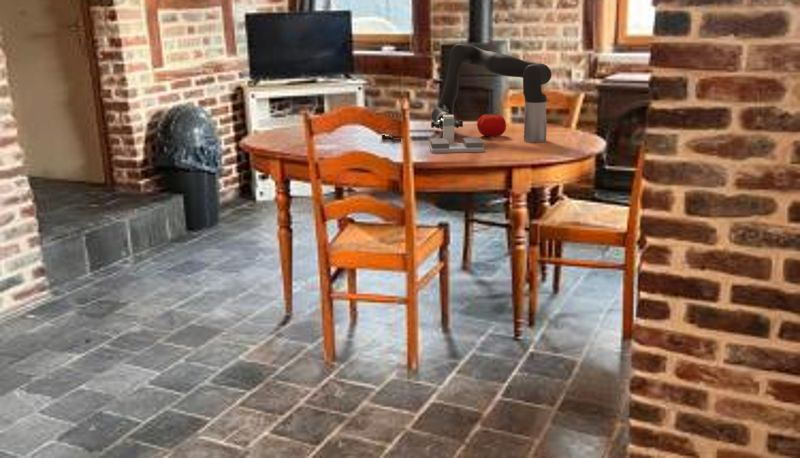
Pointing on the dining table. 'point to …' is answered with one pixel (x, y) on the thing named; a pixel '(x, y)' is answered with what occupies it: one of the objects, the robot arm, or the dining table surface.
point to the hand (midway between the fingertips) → (447, 126)
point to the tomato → (491, 125)
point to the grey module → (448, 128)
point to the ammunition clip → (389, 136)
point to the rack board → (456, 145)
